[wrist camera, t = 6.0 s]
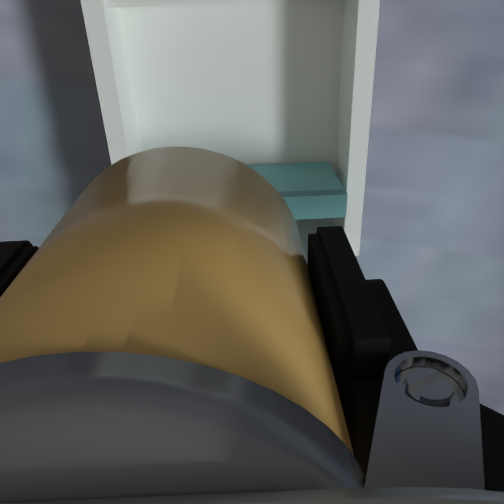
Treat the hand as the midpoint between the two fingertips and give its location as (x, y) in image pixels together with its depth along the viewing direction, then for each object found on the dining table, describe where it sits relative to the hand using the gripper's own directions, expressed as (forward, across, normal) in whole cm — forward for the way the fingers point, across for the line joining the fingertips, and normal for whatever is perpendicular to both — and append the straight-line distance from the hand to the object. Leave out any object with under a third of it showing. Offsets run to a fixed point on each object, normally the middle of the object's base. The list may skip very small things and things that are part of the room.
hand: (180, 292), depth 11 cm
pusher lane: (+20, -1, +1) cm, 20 cm away
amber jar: (+1, 0, 0) cm, 1 cm away
